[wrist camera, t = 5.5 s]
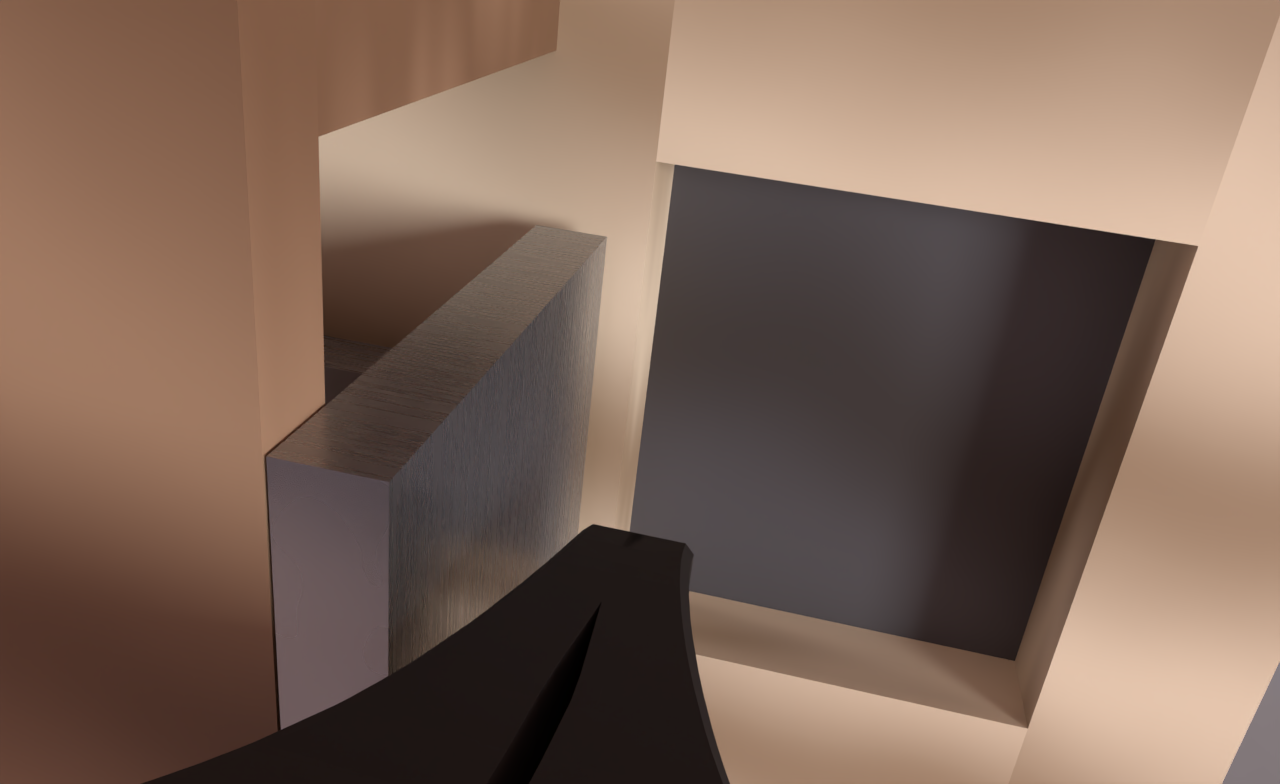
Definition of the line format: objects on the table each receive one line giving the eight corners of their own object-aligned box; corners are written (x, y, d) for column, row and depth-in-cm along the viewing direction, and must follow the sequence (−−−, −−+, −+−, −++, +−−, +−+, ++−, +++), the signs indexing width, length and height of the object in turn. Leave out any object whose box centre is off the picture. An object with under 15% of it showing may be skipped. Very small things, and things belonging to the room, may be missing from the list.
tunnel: (507, 746, 19) (303, 1196, 12) (160, 661, 20) (-206, 1035, 13) (566, -95, 13) (230, -129, 6) (66, -156, 14) (-696, -241, 7)
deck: (1104, 889, 20) (1126, 983, 18) (-113, 594, 24) (-194, 648, 22) (1558, -164, 12) (1677, -180, 10) (-348, -350, 16) (-503, -386, 14)
